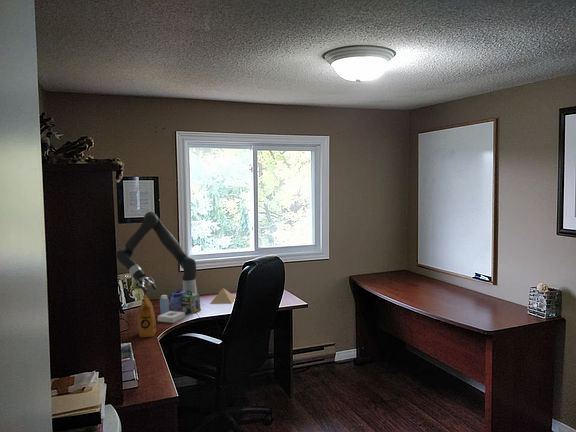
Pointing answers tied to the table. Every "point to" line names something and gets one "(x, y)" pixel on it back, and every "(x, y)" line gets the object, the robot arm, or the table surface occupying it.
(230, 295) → the model pyramid
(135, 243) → the robot arm
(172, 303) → the ink cartridge box
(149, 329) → the coffee package
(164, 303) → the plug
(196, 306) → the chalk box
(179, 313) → the port block
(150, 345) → the table surface
